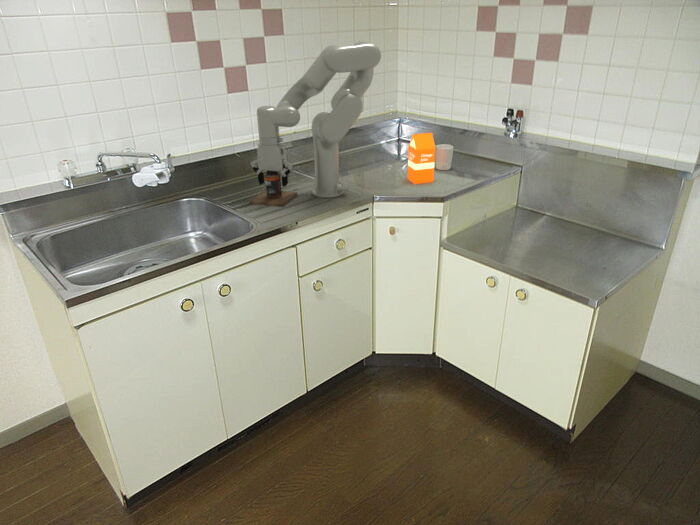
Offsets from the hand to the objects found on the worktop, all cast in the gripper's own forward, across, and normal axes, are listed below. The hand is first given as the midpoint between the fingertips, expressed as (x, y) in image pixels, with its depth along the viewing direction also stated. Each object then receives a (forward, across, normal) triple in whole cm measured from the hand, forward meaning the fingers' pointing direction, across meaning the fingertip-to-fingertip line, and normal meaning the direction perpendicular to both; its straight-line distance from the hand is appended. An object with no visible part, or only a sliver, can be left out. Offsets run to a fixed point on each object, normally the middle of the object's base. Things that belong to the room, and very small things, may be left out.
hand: (273, 184), depth 204 cm
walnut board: (+6, 0, 0) cm, 6 cm away
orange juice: (+6, -51, -38) cm, 64 cm away
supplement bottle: (+5, 0, 0) cm, 5 cm away
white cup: (+6, -58, -58) cm, 82 cm away
